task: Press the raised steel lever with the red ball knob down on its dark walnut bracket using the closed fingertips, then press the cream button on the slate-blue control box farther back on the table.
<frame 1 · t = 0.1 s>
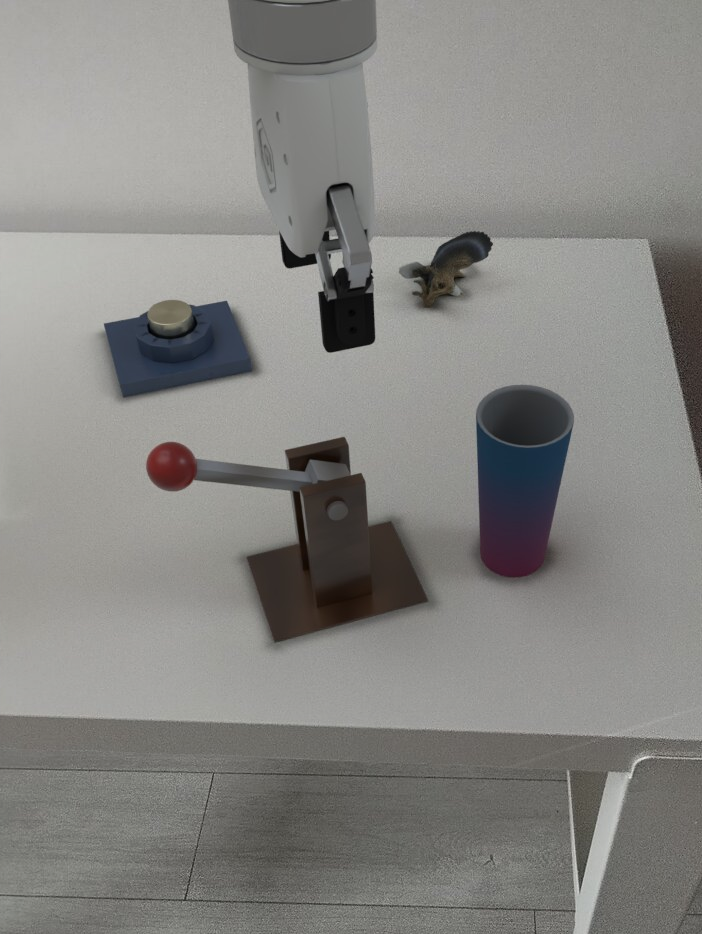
hand: (327, 302, 67), 23 cm above the table, tool pointing down, fingers open, 9 cm apart
bracket: (336, 587, 81), on the table
lever: (251, 475, 70), point 13 cm above the table, hinge at 25.0°
brown squirrel toy: (446, 296, 108), on the table
button: (171, 320, 97), point 4 cm above the table, slide at 0.1 cm
cup: (511, 563, 84), on the table
control box: (179, 359, 100), on the table
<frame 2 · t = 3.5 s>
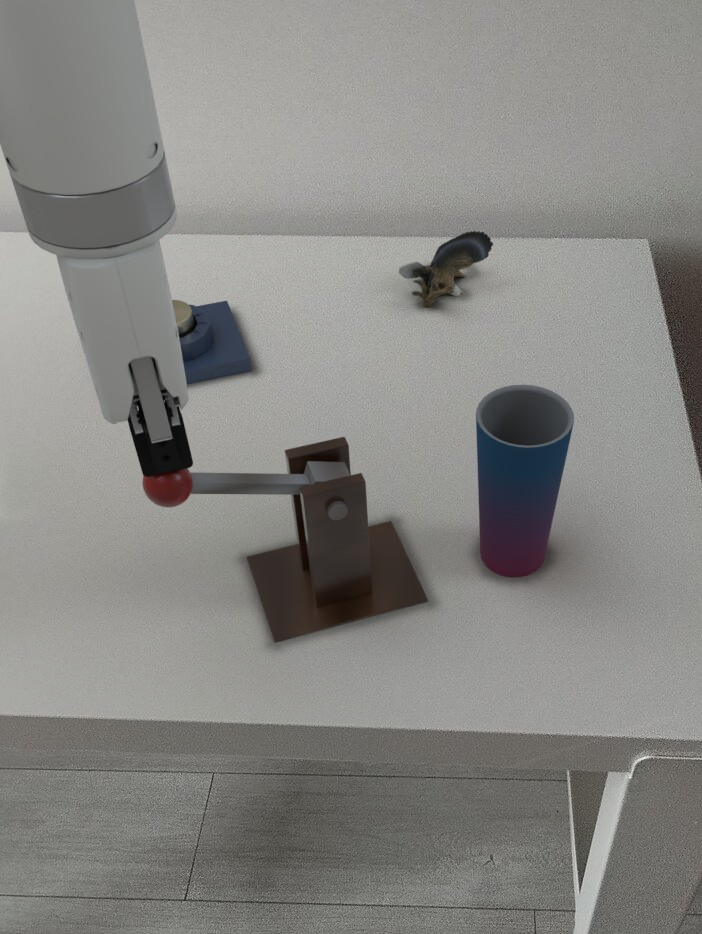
hand: (166, 464, 67), 16 cm above the table, tool pointing down, fingers closed
lever: (248, 483, 70), point 13 cm above the table, hinge at 17.9°, touching gripper
everything else where it was.
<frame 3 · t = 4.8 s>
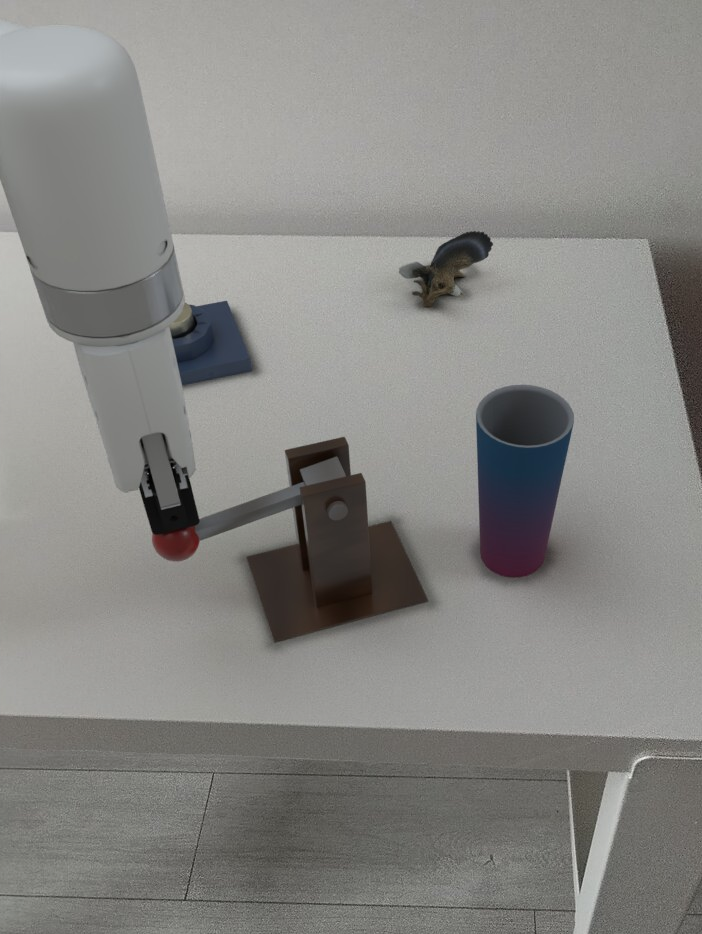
hand: (174, 521, 70), 11 cm above the table, tool pointing down, fingers closed
lever: (250, 511, 72), point 10 cm above the table, hinge at -8.9°, touching gripper
everything else where it was.
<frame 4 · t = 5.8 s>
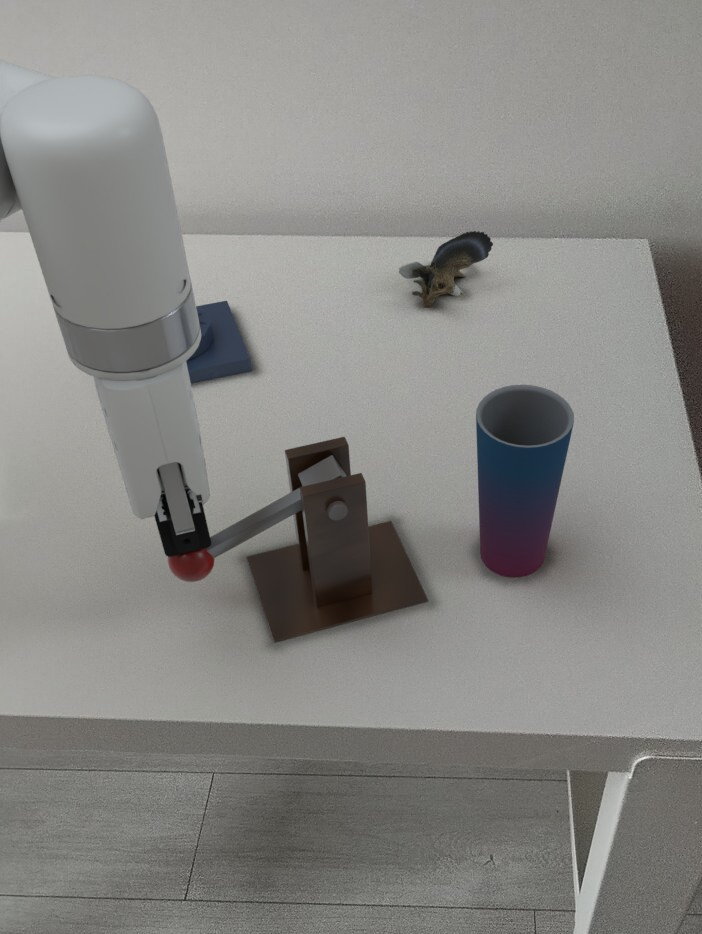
hand: (187, 544, 72), 9 cm above the table, tool pointing down, fingers closed
lever: (257, 522, 73), point 9 cm above the table, hinge at -21.7°, touching gripper
everything else where it was.
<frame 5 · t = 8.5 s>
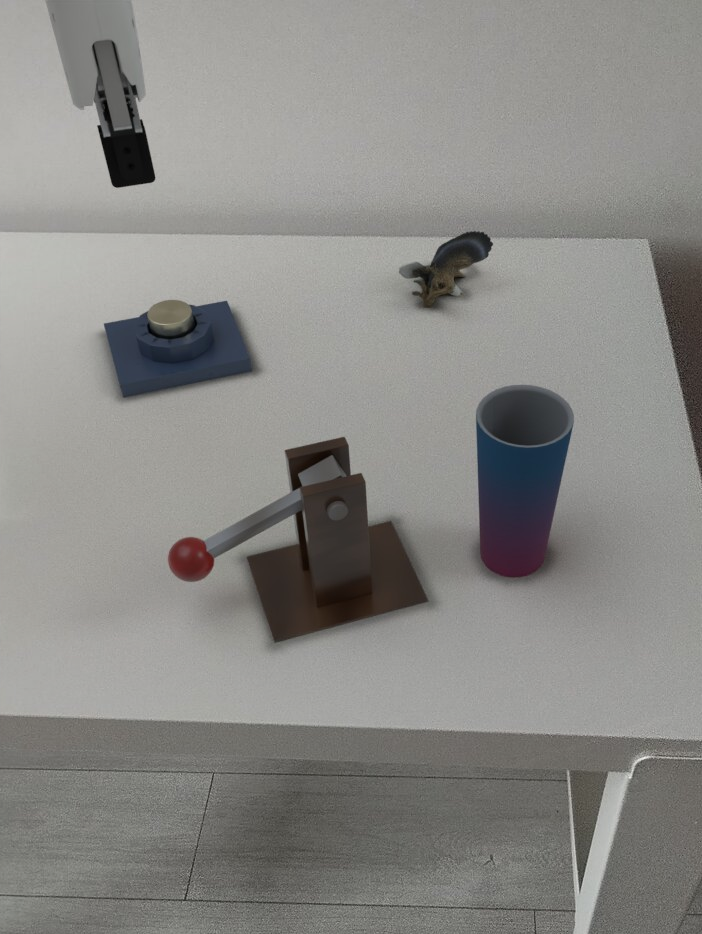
hand: (133, 179, 78), 22 cm above the table, tool pointing down, fingers closed
lever: (257, 522, 73), point 9 cm above the table, hinge at -21.7°
everything else where it was.
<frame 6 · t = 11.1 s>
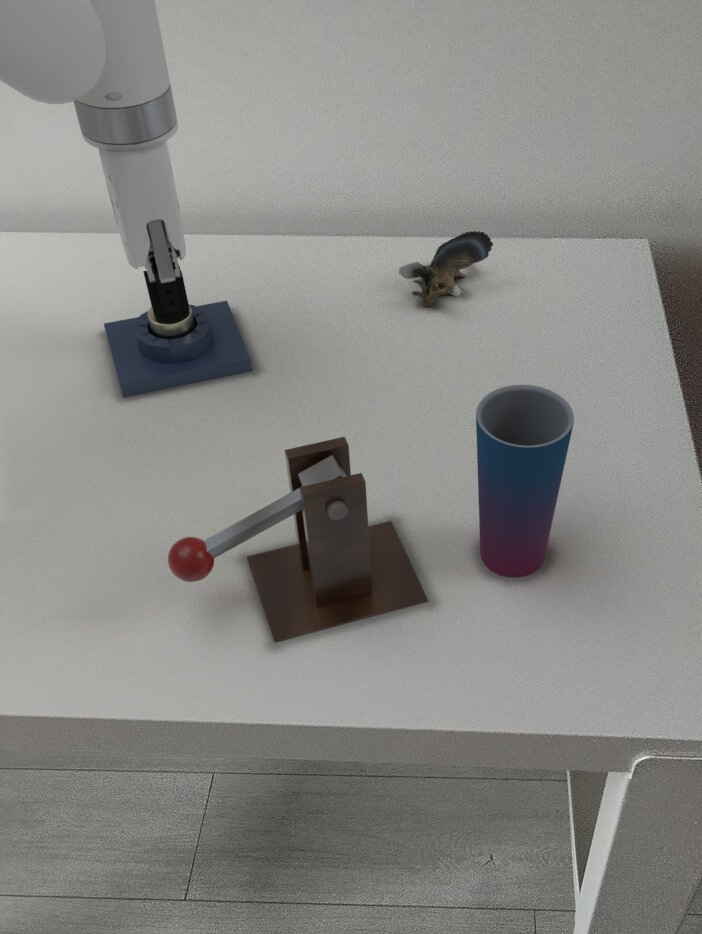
hand: (171, 310, 96), 5 cm above the table, tool pointing down, fingers closed
button: (171, 320, 97), point 4 cm above the table, slide at 0.1 cm, touching gripper
everything else where it was.
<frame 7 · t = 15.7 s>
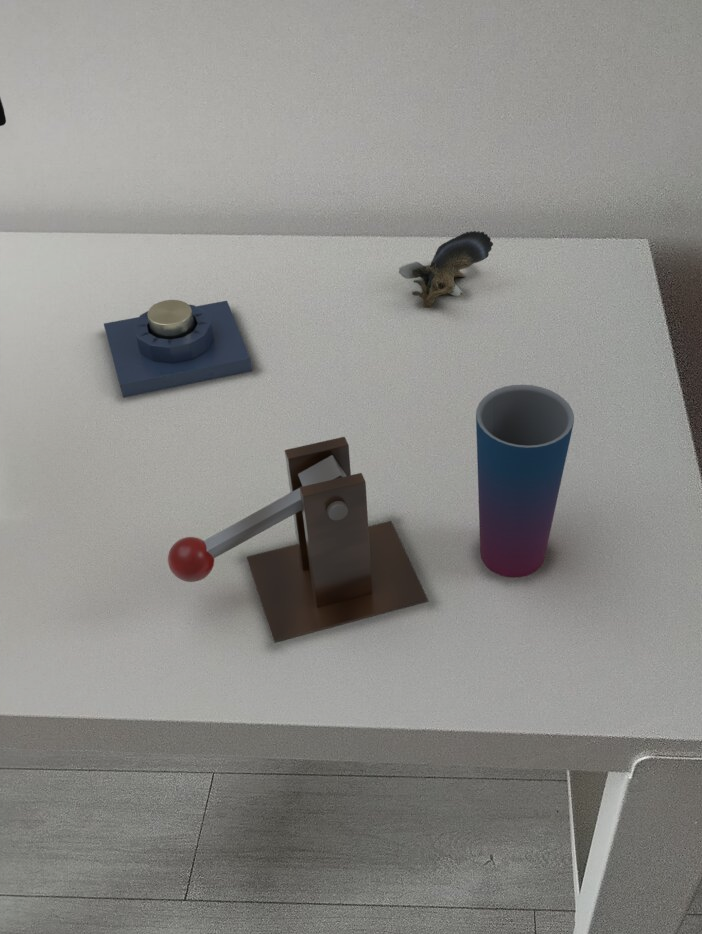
button: (171, 320, 97), point 4 cm above the table, slide at 0.1 cm
everything else where it was.
at the end: lever at -22° (first picture: +25°); button pushed in 1.1 cm at the most during the clip, back to where it started at the end; button slide at 0.1 cm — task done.
